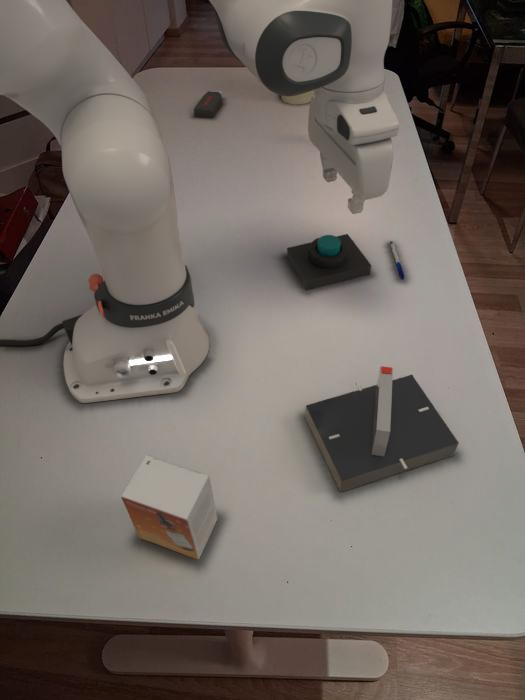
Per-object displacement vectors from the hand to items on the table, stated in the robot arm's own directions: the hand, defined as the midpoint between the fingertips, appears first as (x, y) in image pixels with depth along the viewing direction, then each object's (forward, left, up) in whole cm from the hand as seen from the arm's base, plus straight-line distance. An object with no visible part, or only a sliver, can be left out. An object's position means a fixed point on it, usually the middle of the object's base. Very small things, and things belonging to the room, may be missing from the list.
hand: (341, 194), depth 81 cm
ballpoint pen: (+13, +2, -18) cm, 22 cm away
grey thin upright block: (-7, -31, -14) cm, 35 cm away
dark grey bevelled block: (-2, +79, -18) cm, 81 cm away
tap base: (-7, -31, -18) cm, 36 cm away
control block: (+1, +5, -18) cm, 18 cm away
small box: (-35, -35, -18) cm, 53 cm away
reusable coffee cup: (+22, +76, -18) cm, 81 cm away
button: (+1, +5, -14) cm, 15 cm away
